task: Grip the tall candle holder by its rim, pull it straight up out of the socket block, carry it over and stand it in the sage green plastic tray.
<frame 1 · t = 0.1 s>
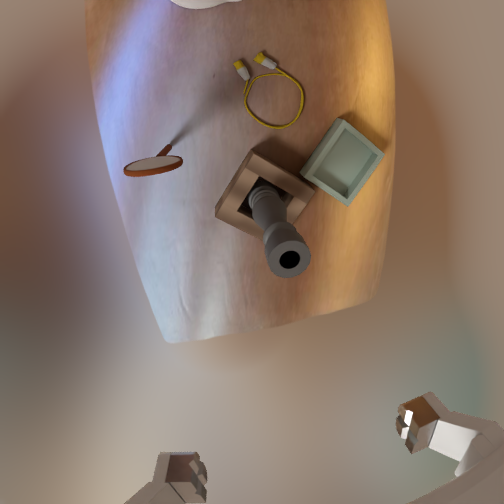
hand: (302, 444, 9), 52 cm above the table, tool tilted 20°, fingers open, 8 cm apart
extension cord: (270, 90, 49), on the table
parts tray: (340, 160, 57), on the table
socket block: (261, 194, 59), on the table
magnifying glass: (169, 146, 52), on the table
candle holder: (261, 194, 59), resting in socket block
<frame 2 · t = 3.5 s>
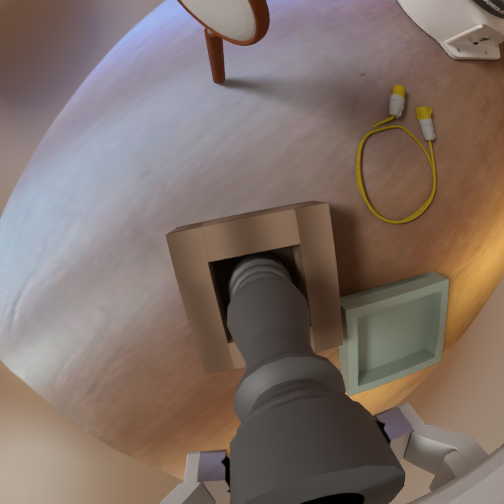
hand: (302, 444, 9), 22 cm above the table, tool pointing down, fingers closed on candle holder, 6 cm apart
extension cord: (400, 158, 29), on the table
parts tray: (388, 327, 33), on the table
socket block: (258, 279, 30), on the table
magnifying glass: (219, 83, 26), on the table
candle holder: (257, 279, 30), resting in socket block, touching gripper
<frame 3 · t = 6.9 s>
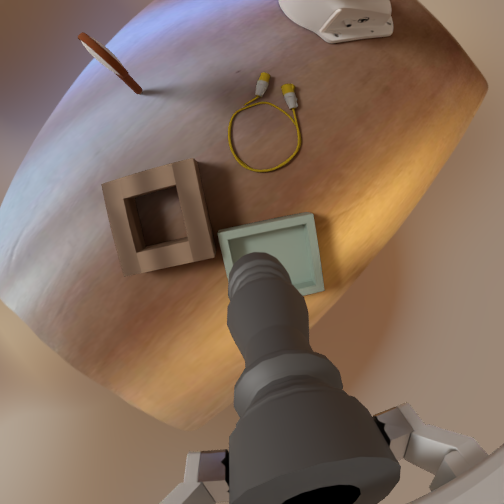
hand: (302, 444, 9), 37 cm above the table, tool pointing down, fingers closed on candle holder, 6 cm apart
extension cord: (268, 125, 42), on the table
parts tray: (270, 257, 46), on the table
socket block: (163, 216, 43), on the table
magnifying glass: (141, 93, 39), on the table
candle holder: (257, 279, 31), point 15 cm above the table, touching gripper
when the fingers open (24 cm above the table, at t = 10.6 s): candle holder stays where it is, resting on parts tray.
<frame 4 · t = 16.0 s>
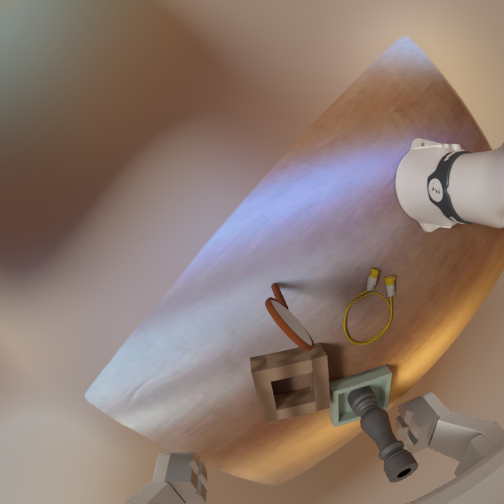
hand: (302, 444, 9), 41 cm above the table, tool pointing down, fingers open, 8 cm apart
extension cord: (371, 308, 54), on the table
parts tray: (357, 392, 58), on the table
socket block: (289, 377, 56), on the table
magnifying glass: (273, 284, 51), on the table
candle holder: (359, 394, 57), point 1 cm above the table, touching parts tray
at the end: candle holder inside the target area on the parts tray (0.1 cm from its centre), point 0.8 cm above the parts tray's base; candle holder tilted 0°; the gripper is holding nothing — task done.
